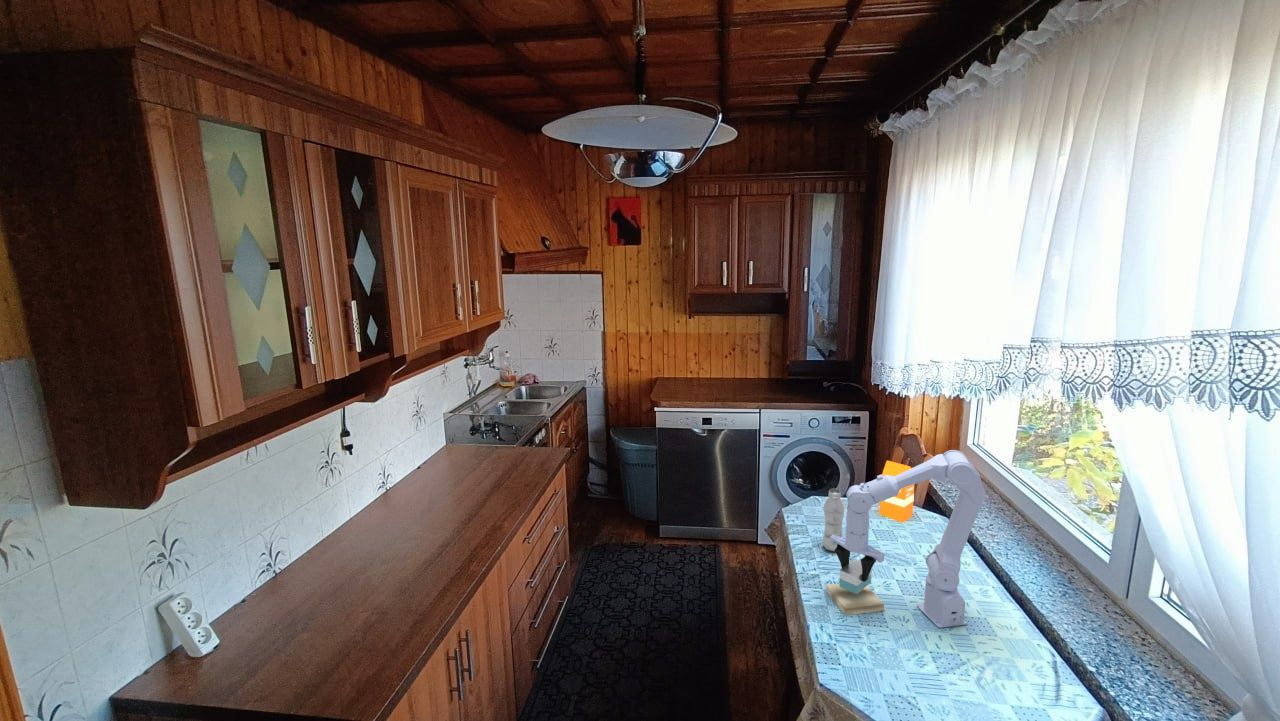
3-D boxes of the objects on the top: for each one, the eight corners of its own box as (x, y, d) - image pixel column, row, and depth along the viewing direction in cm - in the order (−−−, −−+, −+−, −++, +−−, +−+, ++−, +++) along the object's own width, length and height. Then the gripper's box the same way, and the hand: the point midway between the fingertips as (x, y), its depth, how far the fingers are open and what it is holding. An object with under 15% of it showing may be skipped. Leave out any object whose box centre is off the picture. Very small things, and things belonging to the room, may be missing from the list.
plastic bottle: (820, 551, 179) (822, 493, 176) (824, 542, 185) (826, 485, 182) (841, 556, 176) (843, 497, 173) (844, 546, 182) (846, 488, 179)
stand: (883, 610, 149) (884, 604, 148) (844, 615, 147) (845, 608, 147) (862, 587, 160) (862, 580, 159) (826, 591, 158) (826, 584, 158)
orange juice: (888, 508, 208) (891, 457, 204) (912, 516, 201) (916, 463, 198) (878, 514, 203) (881, 463, 199) (902, 523, 196) (906, 469, 193)
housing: (856, 594, 148) (857, 577, 148) (839, 586, 152) (840, 570, 151) (870, 582, 154) (871, 565, 153) (853, 575, 157) (854, 558, 156)
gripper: (890, 534, 147) (888, 580, 149) (839, 516, 158) (838, 560, 160) (878, 543, 142) (875, 591, 145) (826, 524, 153) (825, 569, 155)
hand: (855, 575), depth 152 cm, fingers closed on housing, 5 cm apart
